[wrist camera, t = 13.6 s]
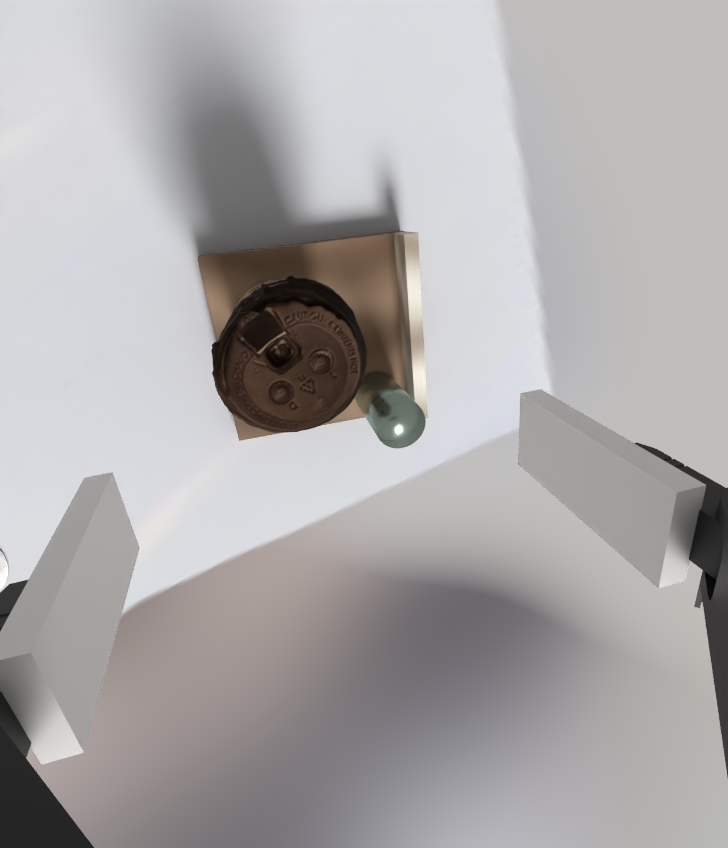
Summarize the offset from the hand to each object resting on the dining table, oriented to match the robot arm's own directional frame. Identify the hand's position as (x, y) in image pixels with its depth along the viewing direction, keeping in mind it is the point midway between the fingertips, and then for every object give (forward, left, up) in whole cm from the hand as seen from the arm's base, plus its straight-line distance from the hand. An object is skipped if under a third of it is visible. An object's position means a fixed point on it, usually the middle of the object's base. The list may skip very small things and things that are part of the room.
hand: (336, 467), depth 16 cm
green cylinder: (+7, +7, -23) cm, 25 cm away
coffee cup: (0, 0, -24) cm, 24 cm away
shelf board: (+2, +3, -25) cm, 25 cm away
